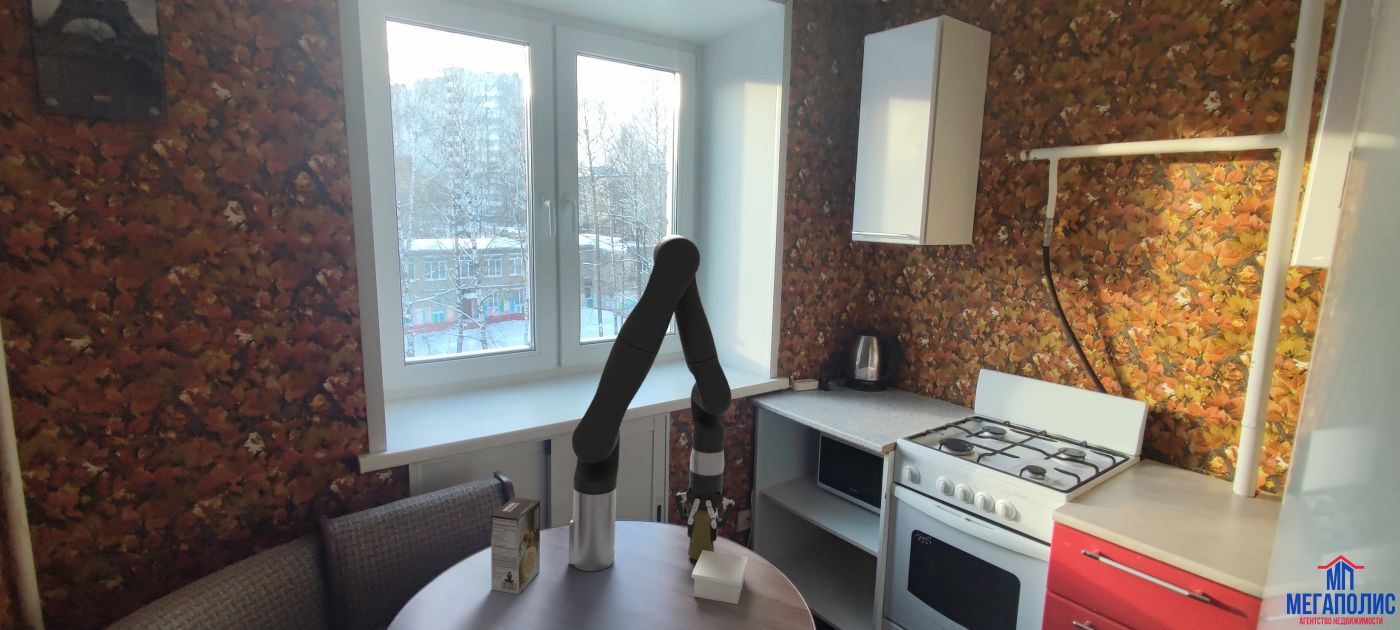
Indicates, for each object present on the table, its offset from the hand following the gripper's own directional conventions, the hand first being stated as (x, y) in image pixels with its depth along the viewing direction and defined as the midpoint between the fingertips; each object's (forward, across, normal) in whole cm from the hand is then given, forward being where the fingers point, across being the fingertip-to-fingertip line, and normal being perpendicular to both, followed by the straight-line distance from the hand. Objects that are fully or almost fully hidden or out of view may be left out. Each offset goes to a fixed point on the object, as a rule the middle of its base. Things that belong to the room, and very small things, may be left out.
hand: (702, 539), depth 138 cm
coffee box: (+5, -35, -20) cm, 41 cm away
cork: (+4, 0, 0) cm, 4 cm away
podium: (+4, +6, -11) cm, 13 cm away
